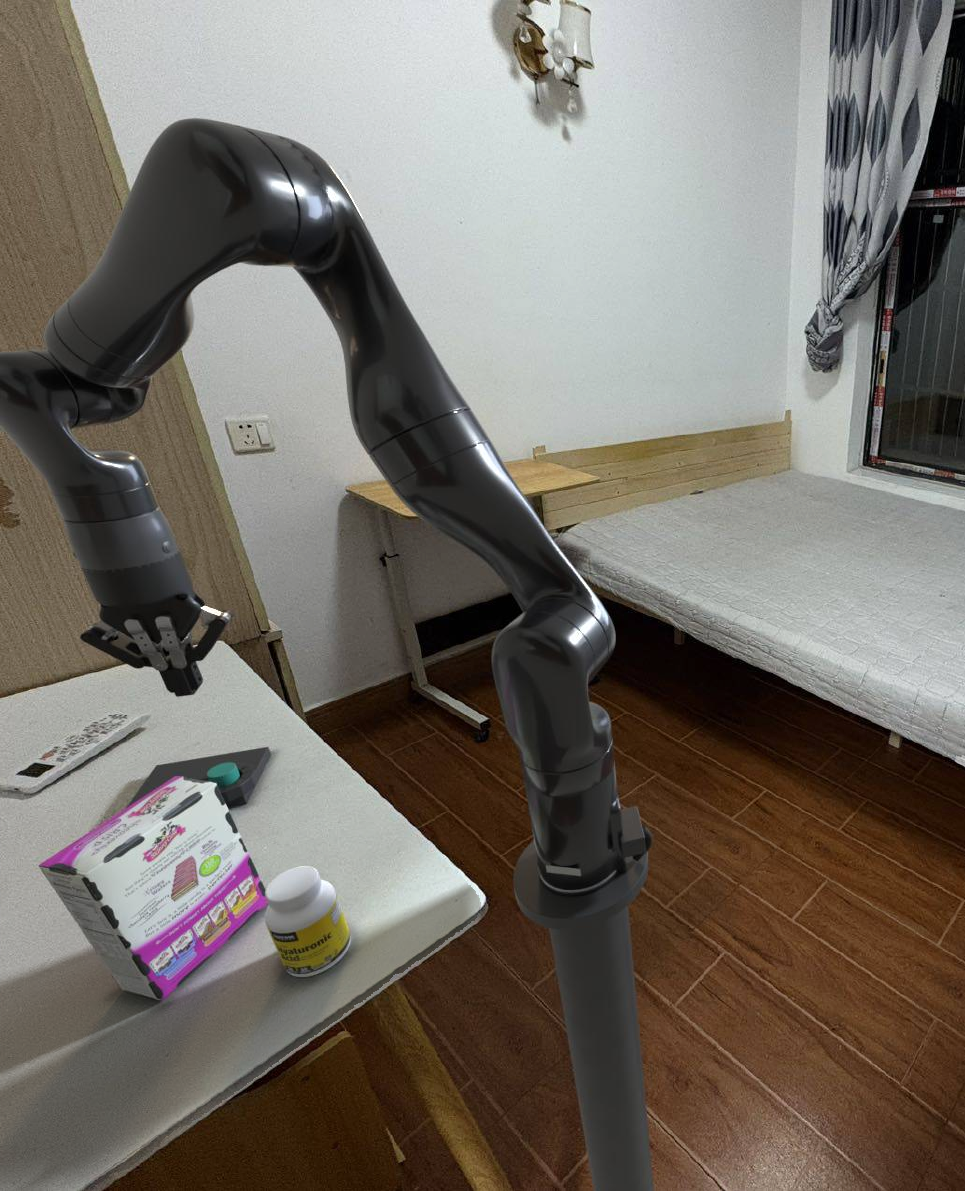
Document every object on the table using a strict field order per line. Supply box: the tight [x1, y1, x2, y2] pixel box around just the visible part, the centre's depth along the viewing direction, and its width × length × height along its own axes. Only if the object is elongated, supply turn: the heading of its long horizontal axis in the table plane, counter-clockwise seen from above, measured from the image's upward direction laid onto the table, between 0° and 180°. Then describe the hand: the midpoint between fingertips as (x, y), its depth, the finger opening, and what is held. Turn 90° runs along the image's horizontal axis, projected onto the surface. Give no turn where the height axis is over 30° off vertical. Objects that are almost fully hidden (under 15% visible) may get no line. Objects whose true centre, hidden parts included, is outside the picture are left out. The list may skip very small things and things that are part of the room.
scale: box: [124, 746, 272, 809], centre depth 81 cm, size 13×11×3 cm
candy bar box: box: [38, 776, 268, 1001], centre depth 60 cm, size 11×5×16 cm, turn 170°
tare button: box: [207, 762, 240, 788], centre depth 80 cm, size 3×3×2 cm
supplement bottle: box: [264, 865, 352, 978], centre depth 61 cm, size 5×5×10 cm
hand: (188, 692), depth 74 cm, fingers closed
